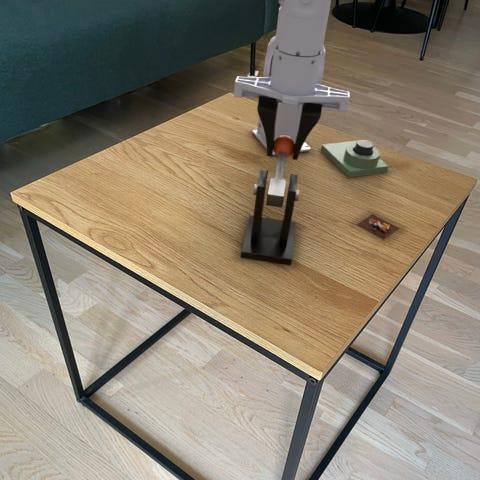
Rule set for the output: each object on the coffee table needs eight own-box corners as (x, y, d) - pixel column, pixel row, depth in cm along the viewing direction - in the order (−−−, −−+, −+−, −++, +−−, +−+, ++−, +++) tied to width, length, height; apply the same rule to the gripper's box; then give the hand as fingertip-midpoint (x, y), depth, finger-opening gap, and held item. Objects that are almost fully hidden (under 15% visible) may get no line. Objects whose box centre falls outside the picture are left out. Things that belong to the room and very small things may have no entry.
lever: (273, 144, 71) (275, 128, 68) (294, 147, 70) (297, 131, 68) (262, 206, 66) (264, 192, 63) (285, 209, 66) (287, 195, 63)
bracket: (248, 220, 74) (255, 160, 67) (295, 227, 74) (306, 167, 67) (240, 257, 68) (246, 194, 61) (291, 265, 68) (303, 202, 61)
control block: (320, 150, 92) (323, 135, 90) (357, 146, 94) (361, 130, 92) (348, 177, 86) (352, 161, 84) (386, 172, 88) (391, 156, 86)
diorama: (382, 235, 74) (386, 224, 73) (361, 224, 76) (365, 212, 74) (392, 228, 76) (396, 216, 74) (372, 217, 78) (375, 206, 76)
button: (350, 149, 87) (353, 140, 86) (365, 148, 88) (367, 138, 87) (359, 157, 86) (362, 148, 84) (374, 156, 86) (377, 146, 85)
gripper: (233, 51, 57) (226, 160, 67) (359, 68, 56) (333, 176, 66) (242, 33, 62) (234, 137, 72) (357, 48, 61) (334, 151, 71)
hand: (282, 154), depth 69 cm, fingers closed on lever, 3 cm apart
